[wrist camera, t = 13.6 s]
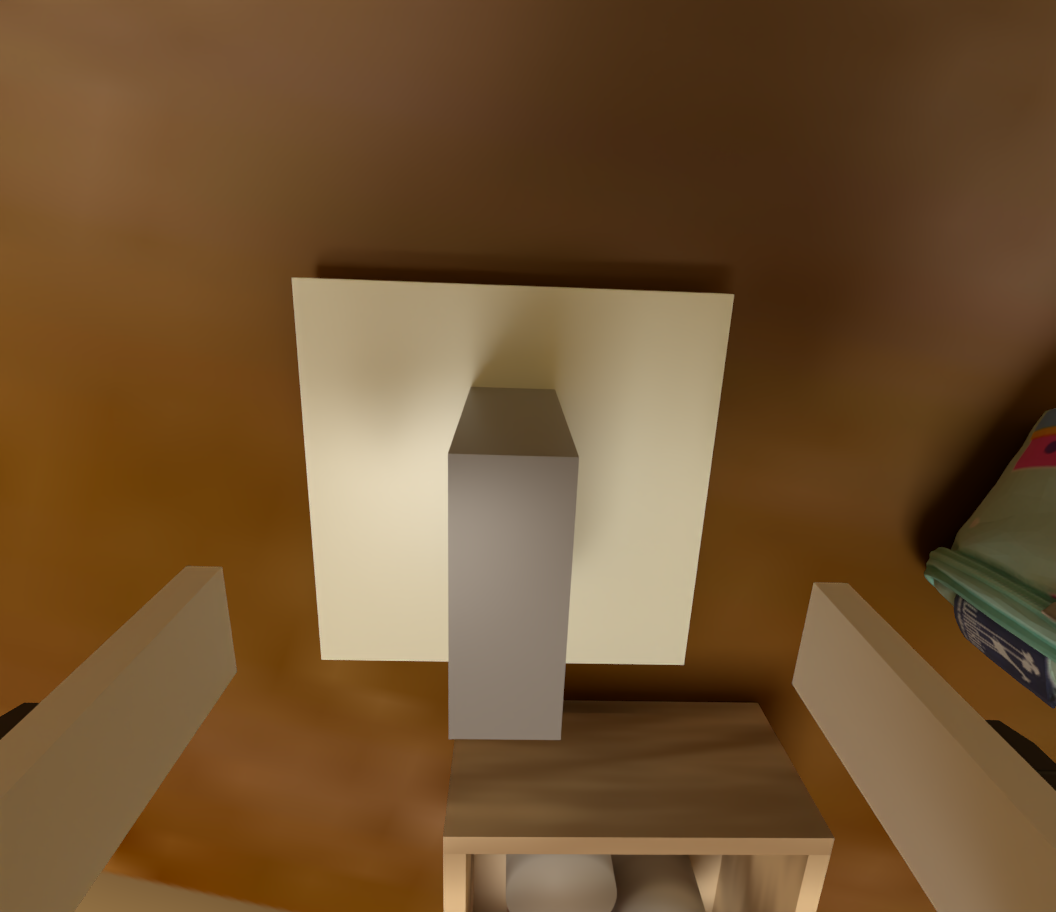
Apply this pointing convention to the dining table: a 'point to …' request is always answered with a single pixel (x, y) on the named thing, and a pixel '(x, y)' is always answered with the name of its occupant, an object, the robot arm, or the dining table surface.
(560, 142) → the dining table surface
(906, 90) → the dining table surface
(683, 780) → the crate
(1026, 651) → the lunch box
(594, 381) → the lid
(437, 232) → the dining table surface
